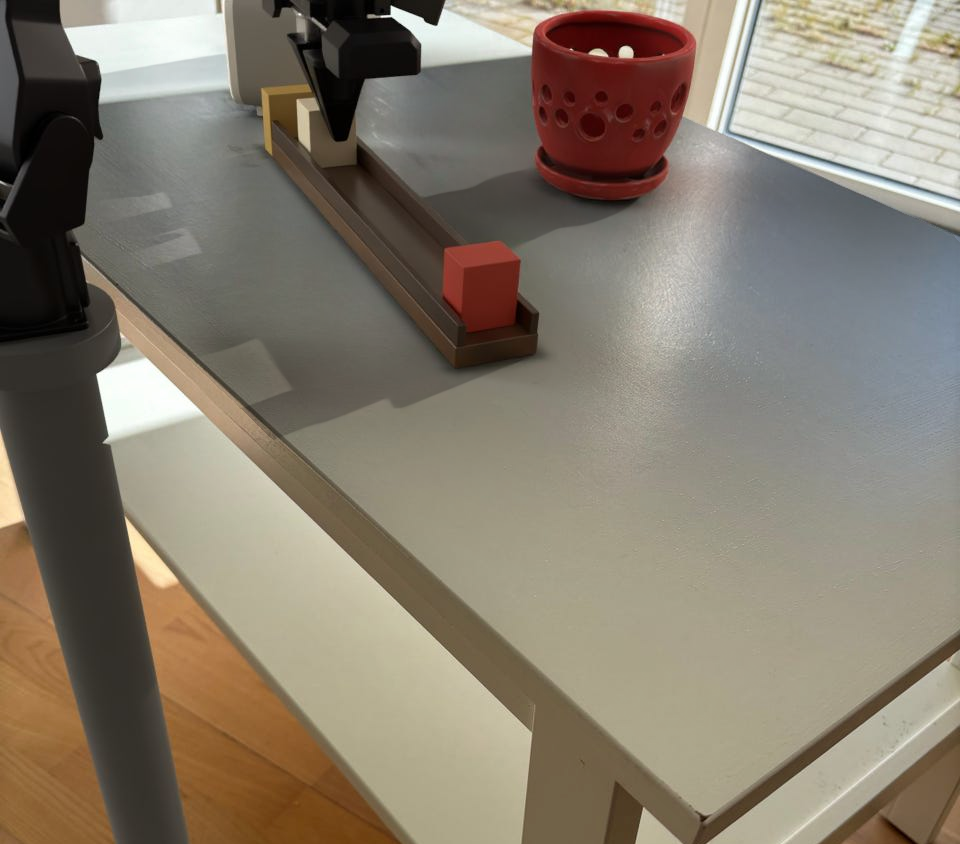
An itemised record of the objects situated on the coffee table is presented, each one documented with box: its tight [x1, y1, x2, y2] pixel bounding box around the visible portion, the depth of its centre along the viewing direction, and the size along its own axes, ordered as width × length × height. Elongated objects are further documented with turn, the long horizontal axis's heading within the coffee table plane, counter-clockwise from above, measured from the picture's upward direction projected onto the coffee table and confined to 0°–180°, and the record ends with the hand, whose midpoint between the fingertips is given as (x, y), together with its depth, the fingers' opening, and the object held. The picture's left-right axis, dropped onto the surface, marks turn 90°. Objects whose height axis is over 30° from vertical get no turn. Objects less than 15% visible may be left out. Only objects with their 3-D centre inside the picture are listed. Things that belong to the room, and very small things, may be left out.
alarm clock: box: [222, 0, 382, 117], centre depth 105 cm, size 27×9×12 cm, turn 174°
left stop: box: [261, 84, 314, 158], centre depth 94 cm, size 6×2×5 cm, turn 116°
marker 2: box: [442, 240, 522, 333], centre depth 70 cm, size 4×3×4 cm
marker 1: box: [297, 98, 357, 168], centre depth 89 cm, size 4×3×4 cm
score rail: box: [271, 120, 540, 369], centre depth 82 cm, size 6×38×3 cm, turn 26°
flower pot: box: [530, 9, 697, 201], centre depth 91 cm, size 13×13×12 cm
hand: (339, 140), depth 87 cm, fingers closed
